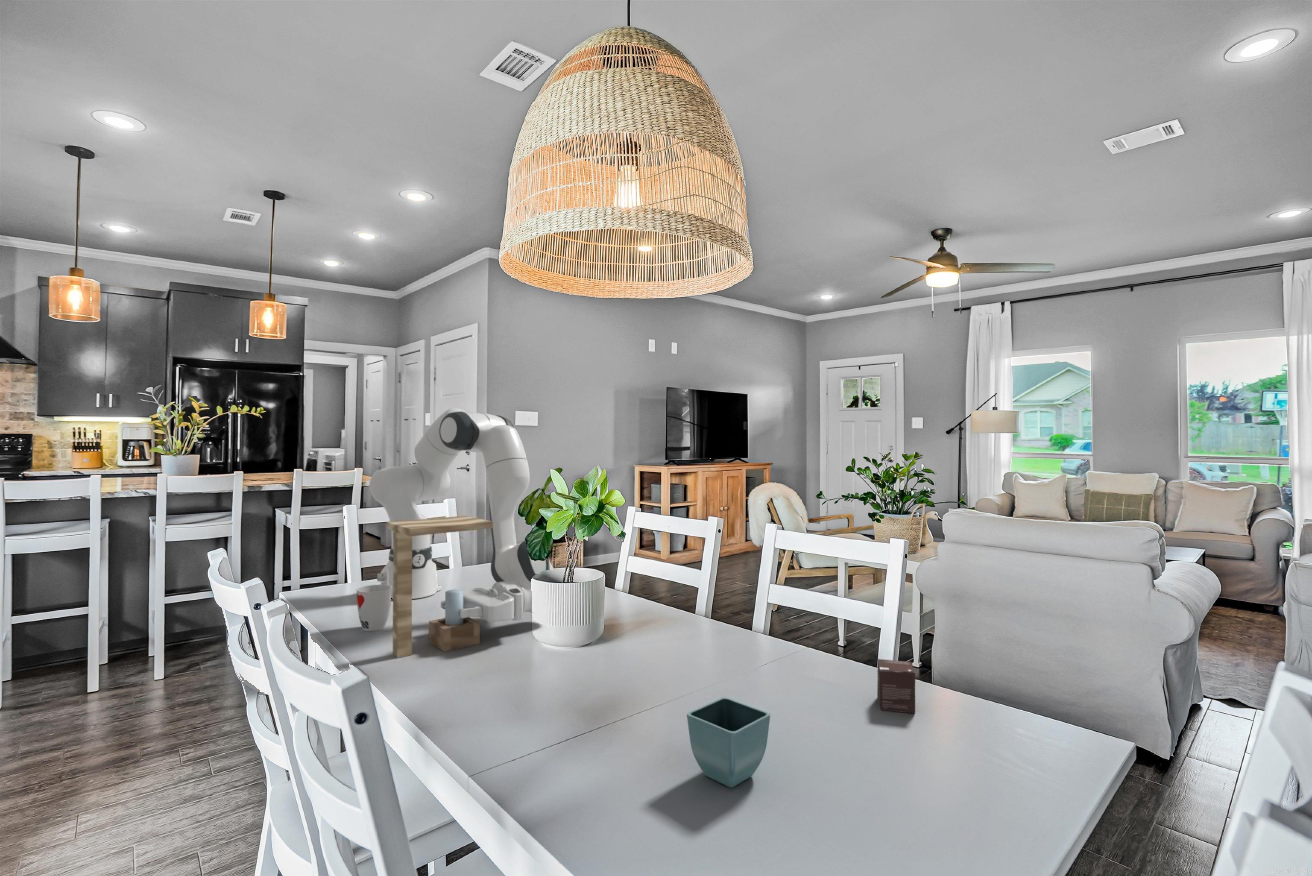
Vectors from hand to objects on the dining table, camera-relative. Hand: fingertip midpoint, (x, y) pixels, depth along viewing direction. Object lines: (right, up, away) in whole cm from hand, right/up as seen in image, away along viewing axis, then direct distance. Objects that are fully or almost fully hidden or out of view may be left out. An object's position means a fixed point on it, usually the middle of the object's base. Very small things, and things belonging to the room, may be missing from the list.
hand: (450, 609), depth 148 cm
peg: (+1, -8, +1) cm, 8 cm away
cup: (-23, -8, +12) cm, 27 cm away
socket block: (+1, -8, +1) cm, 8 cm away
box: (+91, -9, -32) cm, 97 cm away
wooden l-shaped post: (-2, -8, -2) cm, 8 cm away
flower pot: (+58, -9, -57) cm, 82 cm away
